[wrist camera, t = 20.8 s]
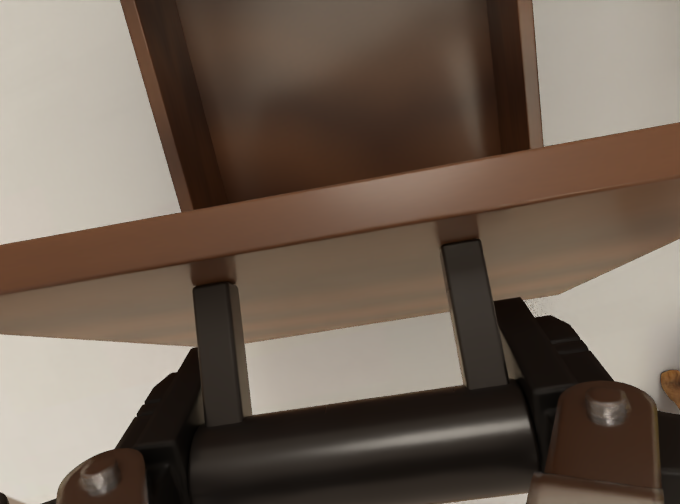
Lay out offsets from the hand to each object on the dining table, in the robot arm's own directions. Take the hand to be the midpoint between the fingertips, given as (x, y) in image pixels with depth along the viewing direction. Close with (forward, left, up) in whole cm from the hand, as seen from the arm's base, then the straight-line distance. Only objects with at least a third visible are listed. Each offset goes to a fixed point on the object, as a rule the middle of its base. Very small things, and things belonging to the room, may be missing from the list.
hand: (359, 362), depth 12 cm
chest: (-4, 0, -19) cm, 20 cm away
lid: (0, 0, -5) cm, 5 cm away
